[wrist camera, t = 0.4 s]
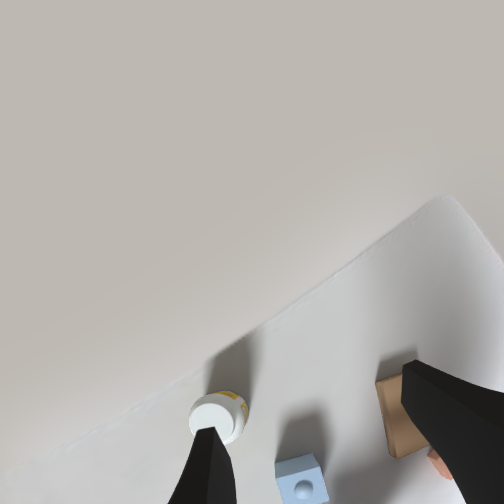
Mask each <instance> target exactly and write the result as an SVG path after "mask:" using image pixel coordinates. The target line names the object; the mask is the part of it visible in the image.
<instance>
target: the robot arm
mask: <svg viewBox="0 0 504 504" xmlns="http://www.w3.org/2000/svg"><path fill="white" fill-rule="evenodd" d="M401 404H402V405H403V407H404V409H405V411H406V413H407V414H408V416H409V417H410V419H411V421H412V422H413V423H414V425H415V426H416V427H417V429H418V430H419V431H420V432H421V434H422V435H423V436H424V437H425V439H426V440H427V441H428V442H429V444H430V445H431V446H432V447H433V449H434V450H435V451H436V452H437V454H438V455H439V456H440V457H441V459H442V460H443V462H444V463H445V465H446V466H447V468H448V470H449V471H450V473H451V475H452V477H453V478H454V480H455V482H456V484H457V486H458V488H459V490H460V491H461V493H462V495H463V498H464V500H465V502H466V504H504V393H502V392H498V391H494V390H490V389H487V388H483V387H480V386H477V385H474V384H472V383H469V382H466V381H464V380H461V379H459V378H456V377H454V376H452V375H449V374H447V373H445V372H442V371H440V370H438V369H436V368H434V367H431V366H429V365H427V364H425V363H423V362H420V361H418V360H414V361H412V362H409V363H407V364H405V365H403V372H402V390H401ZM168 504H237V500H236V487H235V479H234V473H233V468H232V464H231V459H230V456H229V454H228V452H227V450H226V448H225V446H224V445H223V442H222V440H221V438H220V436H219V434H218V432H217V430H216V428H215V426H213V427H208V428H203V429H198V430H197V432H196V435H195V438H194V442H193V445H192V448H191V451H190V454H189V457H188V460H187V462H186V465H185V467H184V470H183V472H182V475H181V477H180V480H179V482H178V484H177V486H176V488H175V490H174V492H173V494H172V496H171V498H170V500H169V502H168Z"/></svg>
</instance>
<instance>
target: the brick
mask: <svg viewBox="0 0 504 504" xmlns="http://www.w3.org/2000/svg"><path fill="white" fill-rule="evenodd" d="M427 457H428V458H429V459H430V461H431V462H432V464H433V465H434V466H435V468H436V469H437V471H438V472H439V473H440V475H441V476H443V477H445V478H447V479H450V480H451V479H452V478H453V477H452V475H451V473H450V471H449V470H448V468H447V466H446V465H445V463H444V462H443V460H442V459H441V457H440V456H439V455H438V454H437V452H436V451H435V450H434V449H433V450H432V451H431V452H430V453H429V454H428V455H427Z"/></svg>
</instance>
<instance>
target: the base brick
mask: <svg viewBox="0 0 504 504" xmlns="http://www.w3.org/2000/svg"><path fill="white" fill-rule="evenodd" d="M375 385H376V389H377V394H378V398H379V403H380V408H381V412H382V417H383V422H384V427H385V432H386V437H387V442H388V448H389V453H390V455H391V456H393V457H395V458H396V459H399V458H402V457H404V456H406V455H409V454H411V453H413V452H415V451H418V450H420V449H422V448H424V447H426V446H428V445H430V444H429V442H428V441H427V440H426V439H425V437H424V436H423V435H422V434H421V432H420V431H419V430H418V429H417V427H416V426H415V425H414V423H413V422H412V421H411V419H410V417H409V416H408V414H407V413H406V411H405V409H404V407H403V405H402V404H401V390H402V373H399V374H396V375H394V376H391V377H388V378H386V379H383V380H380V381H377V382H375Z"/></svg>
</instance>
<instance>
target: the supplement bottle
mask: <svg viewBox="0 0 504 504" xmlns="http://www.w3.org/2000/svg"><path fill="white" fill-rule="evenodd" d="M248 416H249V410H248V406H247V404H246V402H245V400H244V399H243V398H242V397H241V396H239V395H238V394H236V393H234V392H231V391H218V392H215V393H212V394H208V395H205V396H203V397H201V398H200V399H198V400H197V401H196V402H195V403H194V405H193V406H192V408H191V411H190V415H189V427H190V430H191V432H192V434H193V435H194V436H195V435H196V432H197V430H198V429H203V428H208V427H213V426H215V428H216V430H217V432H218V434H219V436H220V438H221V440H222V442H223V445H225V444H228V443H230V442H232V441H234V440H235V439H236V438H238V436H239V435H240V434H241V432H242V431H243V429H244V427H245V425H246V423H247V420H248Z"/></svg>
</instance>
